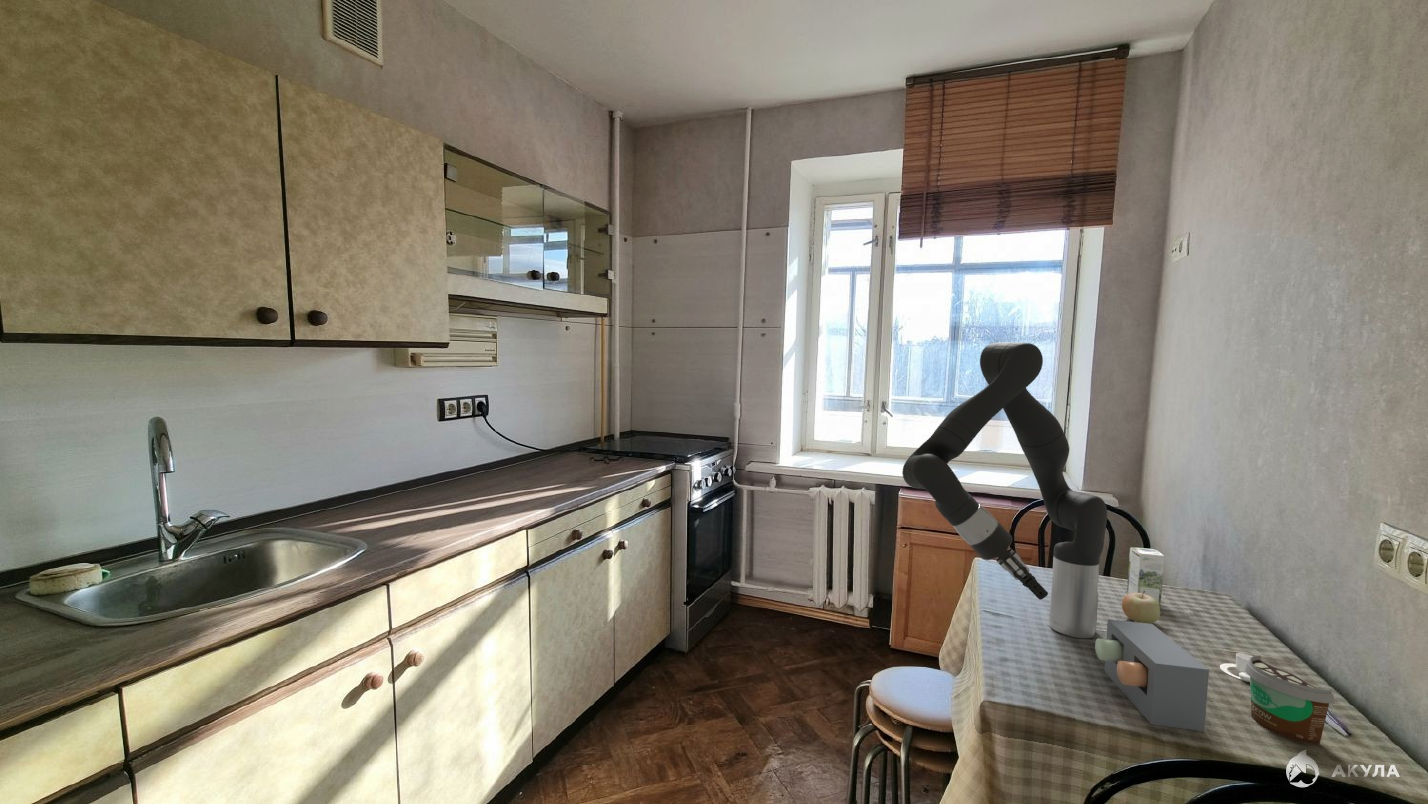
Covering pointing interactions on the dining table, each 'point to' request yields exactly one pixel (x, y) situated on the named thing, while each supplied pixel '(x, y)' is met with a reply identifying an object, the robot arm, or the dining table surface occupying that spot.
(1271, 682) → the food container
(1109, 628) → the block
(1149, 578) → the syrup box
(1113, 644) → the sage button
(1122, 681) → the terracotta button
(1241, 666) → the teacup and saucer
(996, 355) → the robot arm
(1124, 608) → the fruit
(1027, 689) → the dining table surface
